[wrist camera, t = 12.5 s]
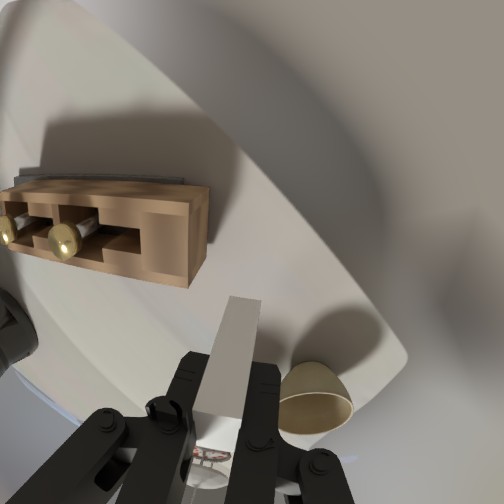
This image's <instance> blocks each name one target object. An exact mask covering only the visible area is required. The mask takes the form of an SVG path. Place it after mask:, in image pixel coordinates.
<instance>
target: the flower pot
mask: <svg viewBox="0 0 504 504" xmlns="http://www.w3.org/2000/svg"><path fill="white" fill-rule="evenodd" d="M280 387H281V388H280V405H279V420H278V430H280V431H283V432H285V433H289V434H294V435H316V434H322V433H326V432H329V431H332V430H335V429H337V428H339V427H340V426H342V425H344V424H345V423H346V422H347V421H348V420H349V419H350V418H351V416H352V414H353V411H354V407H353V404H352V401H351V398H350V396H349V394H348V392H347V390H346V388H345V386H344V385H343V383H342V382H341V380H340V379H339V378H338V377H337V376H336V375H335V374H334V372H332V371H331V370H330V369H329V368H328V367H326V366H325V365H324V364H322V363H319V362H313V361H310V362H303V363H301V364H298V365H296V366H295V367H294V368H293V369H292V370H291V371H290V372H289V373H288V374H287V375H286V376H285V378H284V379H283V380H282V382H281V386H280Z"/></svg>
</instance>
